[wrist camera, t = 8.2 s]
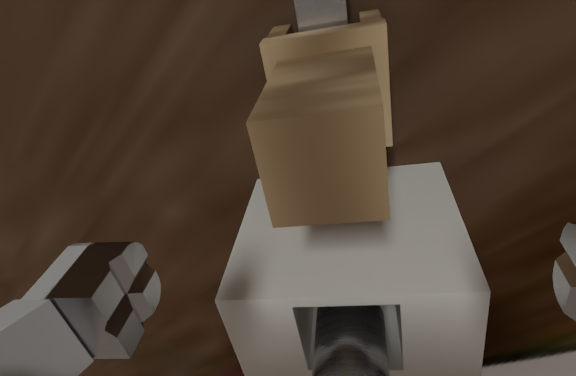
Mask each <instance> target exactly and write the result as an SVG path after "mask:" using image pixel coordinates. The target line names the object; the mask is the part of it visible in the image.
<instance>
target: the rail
mask: <svg viewBox="0 0 576 376" xmlns="http://www.w3.org/2000/svg"><path fill="white" fill-rule="evenodd" d="M294 4H295V10H296V17H297V23H298V29H299V32H304V31H310V30H316V29H322V28H328V27H334V26H340V25H346V24H349V22H348V12H347V2H346V0H294Z"/></svg>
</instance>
